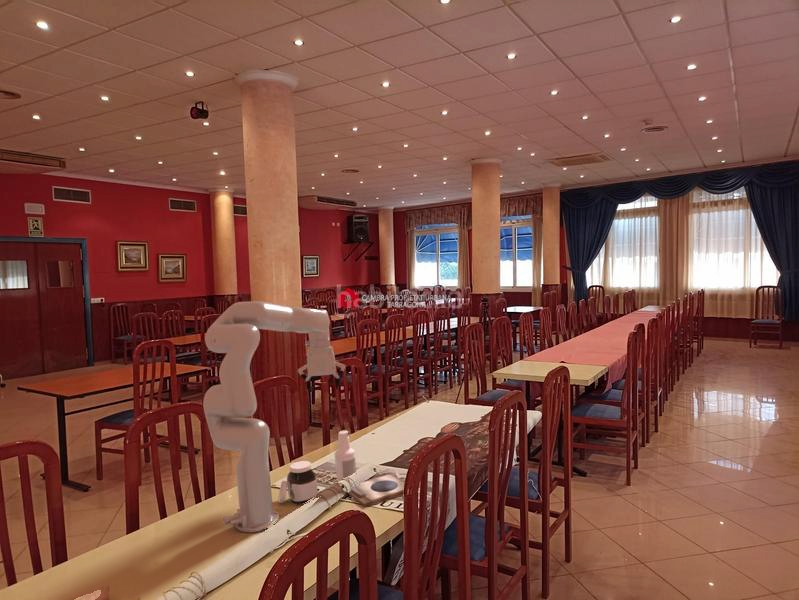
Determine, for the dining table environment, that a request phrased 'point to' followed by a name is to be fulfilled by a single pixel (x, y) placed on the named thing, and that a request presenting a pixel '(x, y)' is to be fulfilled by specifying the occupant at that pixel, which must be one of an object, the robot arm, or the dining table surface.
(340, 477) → the spray bottle
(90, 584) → the dining table surface
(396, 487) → the square pad with disc
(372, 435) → the dining table surface
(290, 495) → the spread jar
